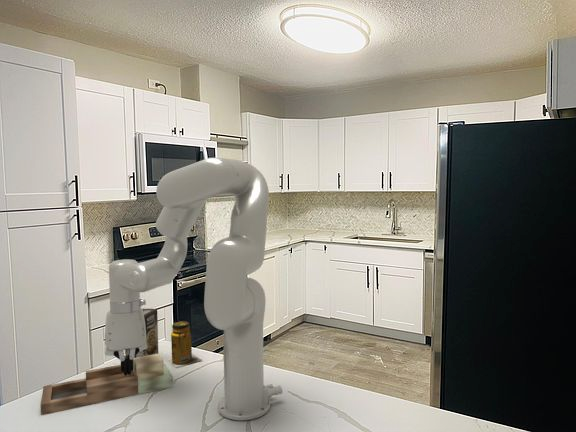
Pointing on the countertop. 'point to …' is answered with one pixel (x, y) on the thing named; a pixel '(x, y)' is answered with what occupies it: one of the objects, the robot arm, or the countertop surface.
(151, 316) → the coffee box
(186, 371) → the countertop surface
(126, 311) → the robot arm
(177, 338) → the condiment
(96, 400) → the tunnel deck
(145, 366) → the birch block
